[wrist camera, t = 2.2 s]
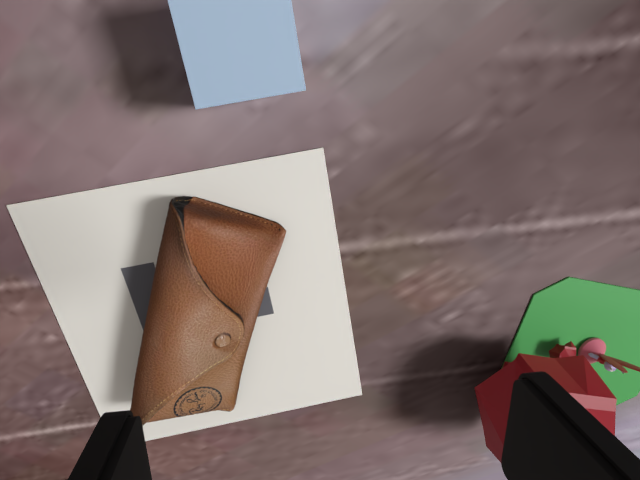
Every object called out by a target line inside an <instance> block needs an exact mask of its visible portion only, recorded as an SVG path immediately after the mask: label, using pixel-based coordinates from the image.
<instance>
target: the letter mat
mask: <svg viewBox="0 0 640 480" xmlns="http://www.w3.org/2000/svg"><path fill="white" fill-rule="evenodd" d="M182 196H190V197H198V198H202V199H205V200H209V201H212V202H216V203H219V204H222V205H225V206H228V207H232V208H235V209H238V210H241V211H245V212H248V213H252V214H255V215H258V216H261V217H264V218H267V219H269V220H272V221H275V222H278V223H279V224H281V225H282V226H283V227H284V229H285V230H286V234H285V238H284V241H283V244H282V247H281V249H280V252H279V255H278V257H277V260H276V263H275V265H274V268H273V271H272V273H271V276H270V278H269V282H268V284H267V288H266V290H265V293H264V296H263V300H262V303H261V306H260V310H259V313H258V316H257V319H256V323H255V326H254V330H253V333H252V337H251V340H250V344H249V347H248V350H247V354H246V358H245V362H244V365H243V370H242V374H241V379H240V384H239V390H238V394H237V400H236V405H235V407H234V409H233V410H232V411H230V412H227V411H220V410H216V411H210V412H205V413H199V414H194V415H188V416H183V417H176V418H171V419H165V420H160V421H155V422H149V423H146V424H144V425H143V432H144V438H145V441H148V440H153V439H158V438H162V437H167V436H172V435H176V434H181V433H186V432H190V431H195V430H200V429H204V428H209V427H214V426H218V425H223V424H228V423H232V422H237V421H242V420H246V419H251V418H256V417H260V416H265V415H269V414H274V413H279V412H283V411H288V410H293V409H297V408H302V407H307V406H311V405H316V404H321V403H325V402H330V401H335V400H339V399H344V398H349V397H353V396H358V395H362V390H361V384H360V377H359V371H358V365H357V358H356V352H355V346H354V339H353V333H352V327H351V320H350V314H349V308H348V301H347V295H346V289H345V283H344V276H343V270H342V264H341V257H340V251H339V245H338V238H337V232H336V226H335V219H334V213H333V207H332V200H331V194H330V188H329V181H328V175H327V169H326V163H325V156H324V150H323V148H318V149H312V150H307V151H301V152H296V153H290V154H285V155H279V156H274V157H268V158H263V159H257V160H252V161H246V162H241V163H235V164H230V165H224V166H219V167H214V168H208V169H203V170H197V171H192V172H186V173H181V174H175V175H170V176H164V177H159V178H153V179H148V180H142V181H137V182H131V183H126V184H120V185H115V186H109V187H104V188H98V189H93V190H87V191H82V192H77V193H71V194H66V195H60V196H55V197H49V198H44V199H38V200H33V201H27V202H22V203H16V204H11V205H6V206H7V209H8V211H9V213H10V215H11V217H12V220H13V222H14V224H15V226H16V229H17V231H18V233H19V235H20V238H21V240H22V242H23V244H24V247H25V249H26V251H27V253H28V256H29V258H30V260H31V262H32V265H33V267H34V269H35V271H36V273H37V276H38V278H39V280H40V282H41V285H42V287H43V289H44V291H45V294H46V296H47V298H48V300H49V303H50V305H51V307H52V309H53V312H54V314H55V316H56V318H57V321H58V323H59V325H60V327H61V330H62V332H63V334H64V336H65V338H66V341H67V343H68V345H69V347H70V350H71V352H72V354H73V356H74V359H75V361H76V363H77V365H78V368H79V370H80V372H81V374H82V377H83V379H84V381H85V383H86V386H87V388H88V390H89V392H90V394H91V397H92V399H93V401H94V403H95V406H96V408H97V410H98V412H99V415H100V417H101V416H102V415H103V414H104V413H105V412H116V411H126V410H130V408H131V403H132V394H133V387H134V380H135V374H136V369H137V363H138V357H139V352H140V347H141V341H142V336H143V330H144V326H145V320H146V315H147V310H148V305H149V299H150V294H151V289H152V283H153V278H154V273H155V268H156V263H157V257H158V253H159V248H160V244H161V240H162V235H163V231H164V226H165V222H166V217H167V213H168V209H169V203H170V201H171V199H173V198H174V197H182Z"/></svg>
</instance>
